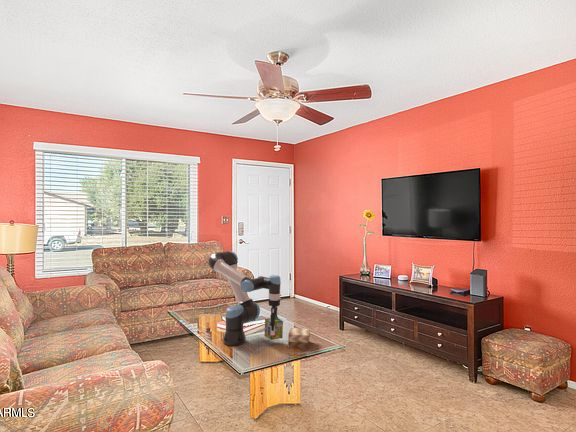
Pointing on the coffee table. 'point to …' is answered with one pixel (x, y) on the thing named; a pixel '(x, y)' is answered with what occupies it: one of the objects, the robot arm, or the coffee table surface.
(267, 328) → the chalk box
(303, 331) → the birch slab
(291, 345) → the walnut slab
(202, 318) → the coffee table surface
